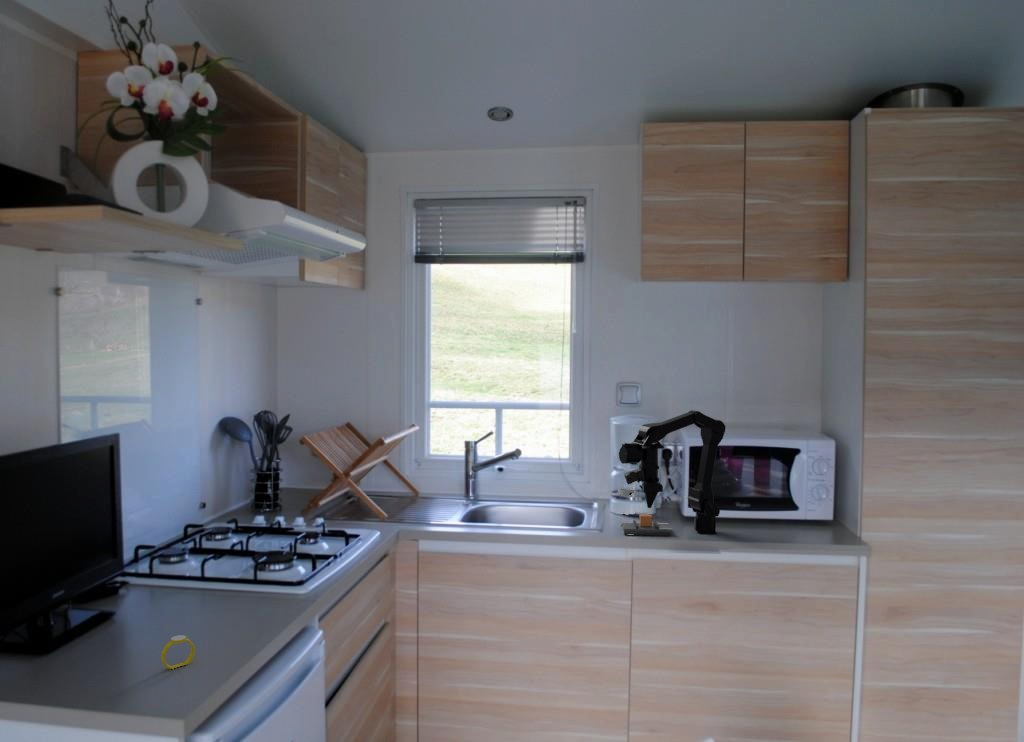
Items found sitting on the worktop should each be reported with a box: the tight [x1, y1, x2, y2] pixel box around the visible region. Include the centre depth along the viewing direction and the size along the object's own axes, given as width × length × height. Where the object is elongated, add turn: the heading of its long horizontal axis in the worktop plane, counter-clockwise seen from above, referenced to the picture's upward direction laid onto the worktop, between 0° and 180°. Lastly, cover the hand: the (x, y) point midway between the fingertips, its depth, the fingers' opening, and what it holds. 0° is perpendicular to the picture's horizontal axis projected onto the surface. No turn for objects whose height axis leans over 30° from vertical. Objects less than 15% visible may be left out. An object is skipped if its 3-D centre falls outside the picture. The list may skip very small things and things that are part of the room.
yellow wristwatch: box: [160, 634, 196, 670], centre depth 138 cm, size 6×3×6 cm, turn 133°
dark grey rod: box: [623, 532, 671, 537], centre depth 237 cm, size 16×1×1 cm, turn 87°
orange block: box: [639, 513, 653, 526], centre depth 242 cm, size 4×2×4 cm, turn 87°
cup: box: [617, 488, 635, 497], centre depth 269 cm, size 8×8×10 cm
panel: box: [620, 519, 673, 536], centre depth 242 cm, size 16×8×3 cm, turn 87°
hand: (649, 507), depth 235 cm, fingers closed
